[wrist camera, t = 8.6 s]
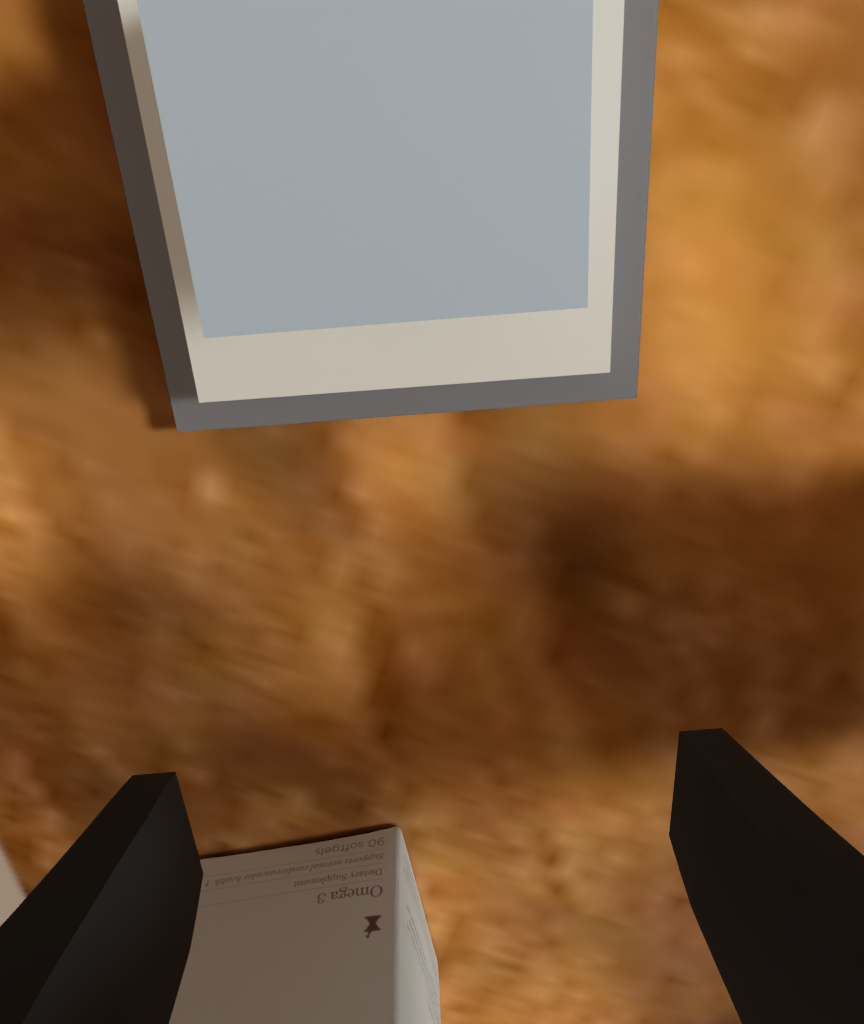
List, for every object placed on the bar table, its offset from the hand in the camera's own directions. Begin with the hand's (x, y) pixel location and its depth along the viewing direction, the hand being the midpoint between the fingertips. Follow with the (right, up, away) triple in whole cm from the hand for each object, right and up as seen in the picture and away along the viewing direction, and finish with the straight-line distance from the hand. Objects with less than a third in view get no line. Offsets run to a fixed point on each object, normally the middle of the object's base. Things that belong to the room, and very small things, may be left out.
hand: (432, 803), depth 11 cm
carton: (-1, +12, +3) cm, 12 cm away
